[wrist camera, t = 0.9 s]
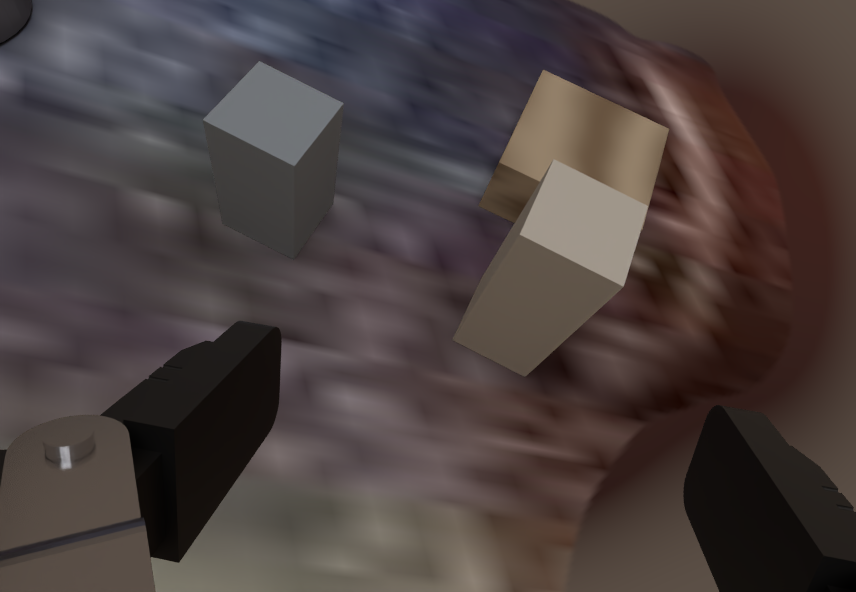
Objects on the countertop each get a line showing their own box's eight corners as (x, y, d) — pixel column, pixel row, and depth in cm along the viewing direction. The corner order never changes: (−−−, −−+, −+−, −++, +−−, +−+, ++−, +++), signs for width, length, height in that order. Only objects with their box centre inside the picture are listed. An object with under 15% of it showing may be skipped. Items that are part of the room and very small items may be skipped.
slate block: (222, 223, 36) (202, 119, 28) (266, 170, 38) (259, 61, 30) (293, 259, 35) (294, 166, 28) (333, 203, 38) (343, 103, 30)
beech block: (477, 208, 41) (499, 162, 36) (519, 119, 46) (543, 69, 41) (604, 268, 41) (642, 230, 36) (633, 173, 45) (669, 129, 41)
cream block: (452, 340, 35) (519, 234, 25) (481, 278, 38) (553, 158, 27) (524, 377, 35) (623, 286, 25) (549, 313, 38) (648, 206, 27)
